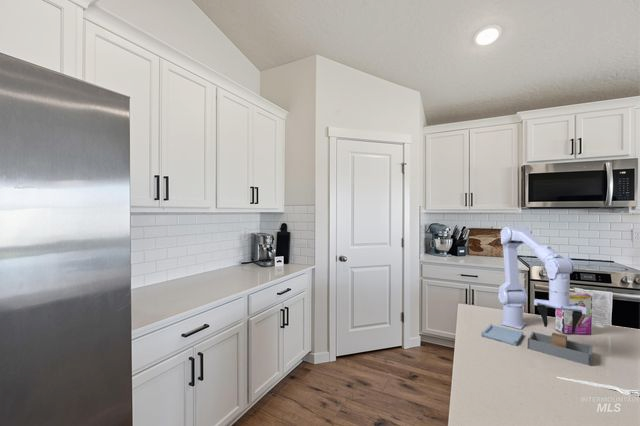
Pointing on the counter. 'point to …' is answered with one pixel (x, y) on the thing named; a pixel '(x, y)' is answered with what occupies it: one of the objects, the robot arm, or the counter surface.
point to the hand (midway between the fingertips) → (559, 329)
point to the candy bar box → (565, 317)
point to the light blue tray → (502, 334)
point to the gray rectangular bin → (561, 348)
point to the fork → (602, 386)
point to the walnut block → (559, 340)
